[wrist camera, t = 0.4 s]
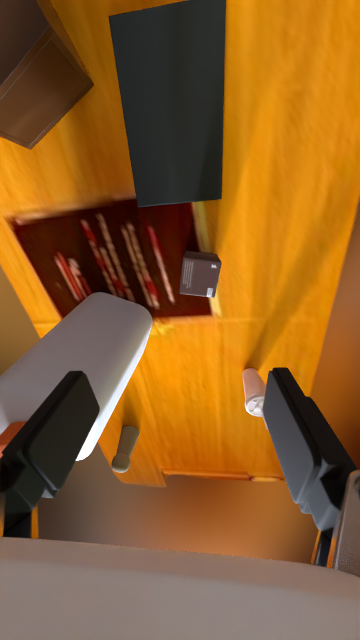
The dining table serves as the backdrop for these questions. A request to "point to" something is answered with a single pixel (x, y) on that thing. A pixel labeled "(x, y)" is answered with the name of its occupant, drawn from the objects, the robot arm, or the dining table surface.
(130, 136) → the mat
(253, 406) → the smoothie
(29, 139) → the cabinet
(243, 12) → the dining table surface
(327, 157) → the dining table surface
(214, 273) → the box
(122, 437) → the pepper shaker
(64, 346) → the plastic bottle
